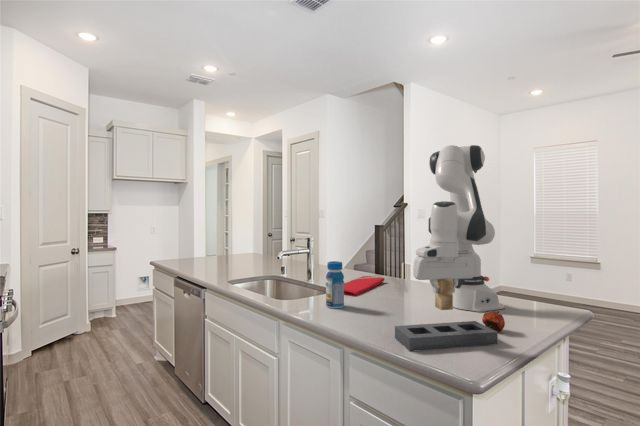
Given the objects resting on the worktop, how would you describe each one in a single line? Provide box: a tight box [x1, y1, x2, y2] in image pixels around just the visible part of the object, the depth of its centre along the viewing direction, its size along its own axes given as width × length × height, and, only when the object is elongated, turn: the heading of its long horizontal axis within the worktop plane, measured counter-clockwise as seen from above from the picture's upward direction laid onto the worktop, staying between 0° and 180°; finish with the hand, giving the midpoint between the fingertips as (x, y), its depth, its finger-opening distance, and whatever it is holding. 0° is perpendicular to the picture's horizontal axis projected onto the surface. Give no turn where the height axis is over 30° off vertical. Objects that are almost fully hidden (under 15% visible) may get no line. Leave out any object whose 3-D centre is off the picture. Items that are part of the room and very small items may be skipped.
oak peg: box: [434, 279, 454, 311], centre depth 120 cm, size 4×4×10 cm
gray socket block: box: [394, 320, 499, 352], centre depth 120 cm, size 30×12×4 cm, turn 100°
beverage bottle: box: [325, 261, 345, 309], centre depth 165 cm, size 8×8×20 cm
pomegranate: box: [481, 310, 506, 333], centre depth 130 cm, size 7×7×10 cm
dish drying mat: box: [344, 275, 385, 297], centre depth 206 cm, size 16×41×4 cm, turn 148°
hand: (443, 292), depth 120 cm, fingers closed on oak peg, 4 cm apart
